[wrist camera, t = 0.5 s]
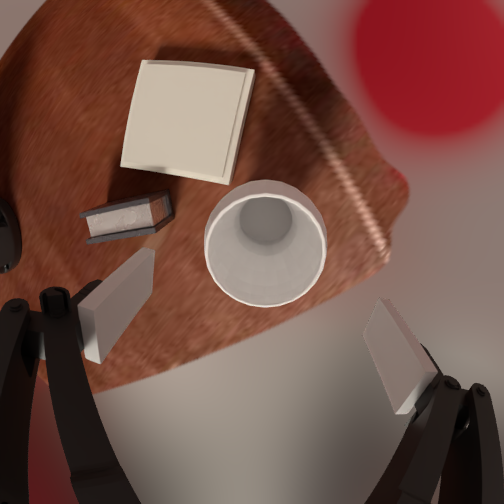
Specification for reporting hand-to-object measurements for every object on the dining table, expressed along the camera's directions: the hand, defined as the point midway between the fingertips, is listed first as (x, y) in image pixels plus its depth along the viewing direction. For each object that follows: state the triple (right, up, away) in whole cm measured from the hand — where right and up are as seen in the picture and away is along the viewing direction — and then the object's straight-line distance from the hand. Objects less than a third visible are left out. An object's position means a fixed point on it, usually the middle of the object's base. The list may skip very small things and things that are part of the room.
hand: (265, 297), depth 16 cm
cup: (+1, +7, +21) cm, 22 cm away
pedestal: (-9, +19, +17) cm, 27 cm away
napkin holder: (-16, +8, +21) cm, 28 cm away
